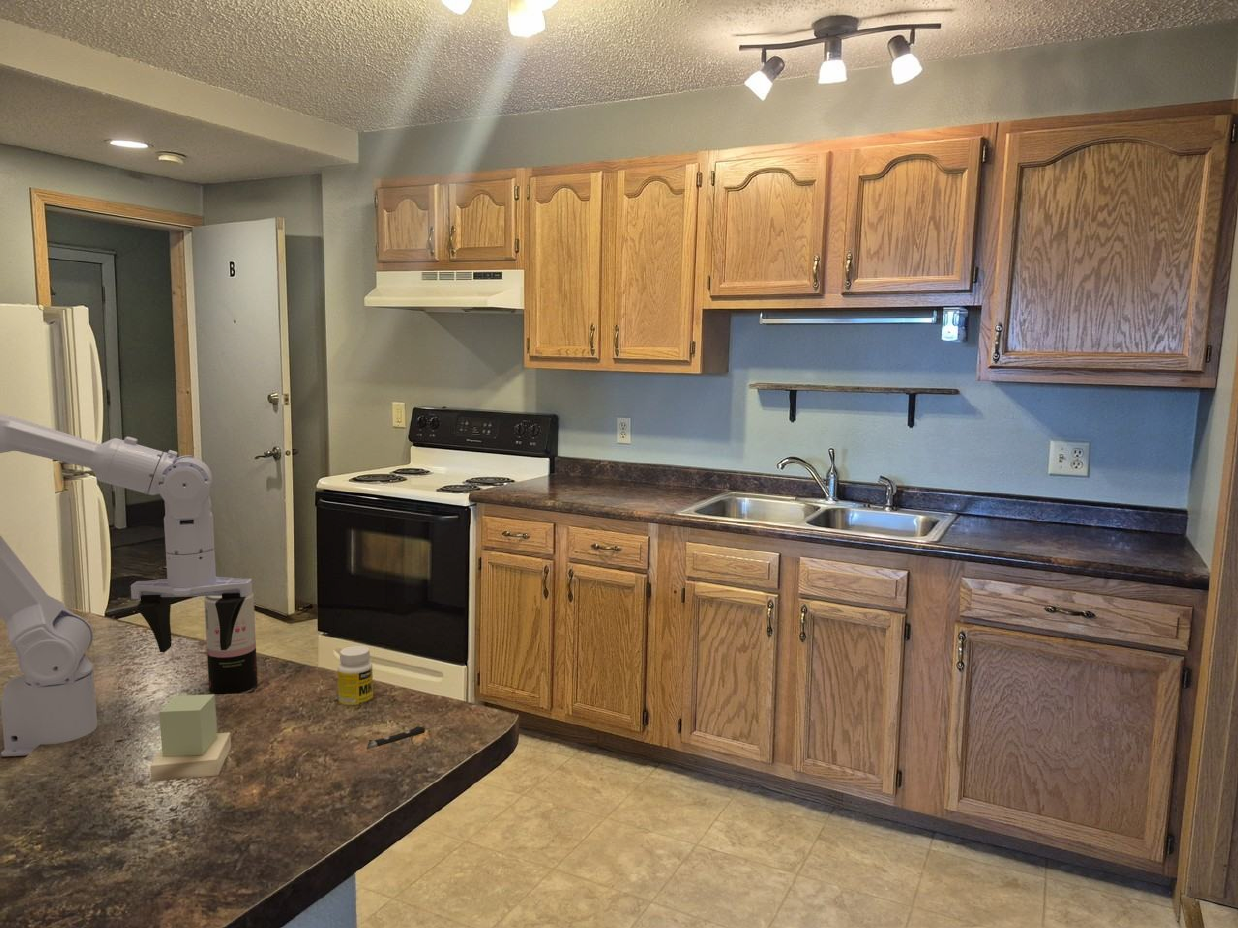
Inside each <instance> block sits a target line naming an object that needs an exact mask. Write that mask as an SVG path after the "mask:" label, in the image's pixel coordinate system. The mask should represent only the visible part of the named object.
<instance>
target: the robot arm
mask: <svg viewBox="0 0 1238 928" xmlns="http://www.w3.org/2000/svg"><path fill="white" fill-rule="evenodd" d="M10 452H20V453H24V454H29V455H33V456H38V457H41V458H44V459H45V458H46V459H50V460H54V461H58V462H62V463H67V464H71V465H75V466H79V467H85V468H88V469H90V470H91V472H92V473H93V474H94V475H95V478H96V479H97V480H98V481H99V482H101V483H105V484H108V485H111V486H112V485H113V486H117V487H120V488H123V489H128V490H132V491H134V492H139V493H143V494H146V495H150V496H155V495H160V497H161V498H162V499H163V501H164V510H165V511H164V513H165V515H164V517H163V524H164V525H163V526H164V541H165V542H164V545H165V558H166V561H165V562H166V577H167V578H161V579H153V580H137V581H135V582H134V583H132V584H131V585H130V597H131V600H140V602H139V603H138V604H137V606H136V607H137V611H138V612H139V614H141V616H142V617H143V618H144V619H145V621H146V623H147V625H148V626H149V628H150V629H151V631H152V634H153V635H154V639H155V641H156V643H157V647H158V650H159V652H160V653H166V652H167V651H168V650H169V649H170V648H171V647H172V630H171V627H172V626H171V609H172V607H171V606H172V598H178V597H179V598H183V597H184V598H185V597H206V596H222V598H221V599H219V600H218V601H217V602H216V603H215V606H216V610H217V614H218V619H219V626H220V647H221V650H227V649H228V648H229V647H230V646H231V642H232V635H233V630H234V626H235V622H236V619H237V616H238V614H239V611H240V609H241V606H242V604H243V602H244V600H245V598H246V597H248V596H249V595H250V594H251V593H253V579H252V578H235V577H234V578H233V577H225V576H224V577H223V576H217V575H216V574H217V573H216V571H217V570H216V552H215V535H214V534H215V531H214V529H215V528H214V514H213V513H212V507H213V506H212V500H211V496H210V492H211V487H212V484H213V483H212V482H213V475H212V471H211V469H210V467H209V466H208V465H207V464H206V463H205V462H204V461H202V460H201V459H198V458H196V457H195V456H193V455H189V454H188V455H180V456H178V452H177V451H176V450H171V449H169V450H168V451H167V452H166V451H162V450H158V449H154V448H151V447H148V446H145V445H141V444H138V439H137V438H135V437H132V436H126V437H124V438H123V439H121V438H116V437H114V438H112V439H111V438H110V439H109V440H107V441H104V442H103V443H98V442H94V441H92V440H88V439H85V438H82V437H79V436H75V435H72V434H69V433H66V432H63V431H60V430H58V429H57V430H56V429H54V428H50V427H47V426H44V425H41V424H37V423H35V422H31V421H29V420H25V419H22V418H18V417H15V416H11V415H7V414H3V413H0V454H4V453H10ZM177 456H178V457H177ZM0 617H1V618H2V620H3V621H4V623H5V625H6V631H7V632H6V634H7V639H8V642H9V644H10V646H11V647H12V648H13V649H14V651H15V652H16V655H17V661H18V667H19V669H20V672H21V673H22V675H16V676H14V677H12V678H11V679H10V680H9V681H8V682H7V683H6V685H5V687H4V688H3V692H2V696H1V700H0V701H1V702H0V711H1V724H2V732H3V734H2V735H3V745H4V749H3V750H2V751H1V752H0V755H1V757H17V756H19V757H20V756H29V755H30V754H31V753H33V751H35V750H36V749H37V748H38V747H39V746H40V745H57V744H58V745H59V744H64V743H68V742H71V741H75V740H78V739H81V738H83V737H86V736H88V735H90V734H91V733H92V732H94V731H95V730H96V729H97V727H98V717H97V703H96V702H97V701H96V691H95V689H96V687H95V677H94V665H93V663H92V662H91V661H90V660H89V659H88V657H87V655H86V652H87V651H88V650H89V649H90V647H91V645H92V643H93V641H94V631H93V627H92V625H91V624H90V623H89V621H87V619H86V618H83V616H81V615H78V614H75V613H73V612H72V611H71V610H69V609H68V608H67V607H66V605H65V604H64V603H63V602H62V601H60V600H58V599H57V598H54V597H52V596H50V595H48V593H47V592H46V591H45V590H44V588H42V586H41V585H40V583H39V582H38V581H37V579H36V578H35V577H34V576H33V574H32V573H31V572H30V571H29V569H28V568H27V567H26V565H25V564H24V563H23V562H22V561H21V559H20V558H19V557H18V556H17V554H16V553H15V552H14V551H13V549H12V548H11V547H10V546H9V544H8V543H7V542H6V541H5V539H4V538H3V537H2V535H0Z"/></svg>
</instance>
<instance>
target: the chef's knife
mask: <svg viewBox="0 0 1238 928" xmlns="http://www.w3.org/2000/svg"><path fill="white" fill-rule="evenodd" d="M425 730H426V728H424V726H420V725H419V726H415V727H414V728H413V727H412V728H411V729H409V730H407V731H403V732H399V733H397V734H396V733H395V734H394V735H393V734H392V735H390V736H386V737H381V738H378V739H375V740H372V739H369V740H368V743H367V747H366V751H367V750H369V749H373V748H377V747H380V746H383V745H386V744H389V743H390V744H391V743H393V742H396V741H399V740H403V739H406V738H410V737H412V736H417V735H421V734H422V733H424V732H425Z"/></svg>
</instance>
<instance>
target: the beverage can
mask: <svg viewBox="0 0 1238 928" xmlns="http://www.w3.org/2000/svg"><path fill="white" fill-rule="evenodd" d="M254 596H255V594H254V592H252V593H251V594H250V595H249V596H248V597H246V598H245V600H244V602H243V604H242V606H241V609H240V611H239V614H238V616H237V619H236V622H235V626H234V630H233V635H232V642H231V646H230V647H229V648H228V649H227V650H221V647H220V626H219V619H218V614H217V610H216V606H215V603H216V602H217V601H218V600H219V599H221V598H222V596H204V599H203V601H204V619H205V637H206V640H205V641H206V656H207V673H208V674H207V676H208V691H209V692H210V694H215V695H219V696H220V695H240V694H241V695H242V694H249V693H250V692H252V691H253V690H254V689H255V688H256V687H257V686H258V683H259V682H258V664H257V663H258V661H257V660H258V658H257V639H256V638H257V637H256V619H255V617H256V616H255V615H256V614H255V597H254Z"/></svg>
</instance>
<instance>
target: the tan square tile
mask: <svg viewBox="0 0 1238 928" xmlns="http://www.w3.org/2000/svg"><path fill="white" fill-rule="evenodd" d="M231 749H232V739H231V731H229V732H219V733H218V732H217V739H216V740H215V741H214V742H213V743H212V745H211V746H210V747H209V748H208V750H207V751H206V752H205V753H204V755H192V756H170V757H163V755H162V747H161V749H160V750H159V751H158V753H157V755H156V756H155V758H154V759H153V761H152V762H151V764H150V765H149V766H150V767H149V768H150V778H151V779H150V780H151V782H161V781H163V782H164V781H170V780H171V781H172V780H183V779H193V778H194V779H195V778H204V777H205V778H206V777H214V776H219V774H220V772H221V770H222V768H223V765H224V763H225V761H226V759H227V757H228V755H229V752H230V751H231Z"/></svg>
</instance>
